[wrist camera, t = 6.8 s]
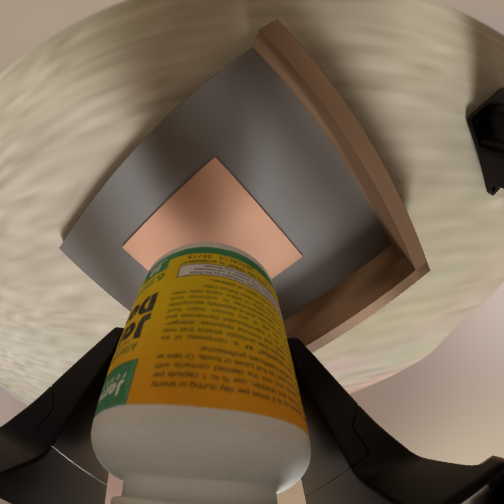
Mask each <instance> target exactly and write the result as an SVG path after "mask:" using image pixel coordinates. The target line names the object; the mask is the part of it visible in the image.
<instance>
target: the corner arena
mask: <svg viewBox="0 0 504 504" xmlns="http://www.w3.org/2000/svg"><path fill="white" fill-rule="evenodd" d="M197 242H215V243H222V244H226V245H229V246H233V247H235V248H238V249H240V250H242V251H244V252H246V253H247V254H249V255H251V256H252V257H253V258H255V259H256V260H257V261H258V262H259V263H260V264H261V265H262V266H263V267H264V268H265V270H266V271H267V273H268V274H269V276H270V278H271V280H272V282H273V284H274V287H275V290H276V294H277V298H278V301H279V306H280V311H281V314H282V318H283V323H284V328H285V332H286V336H287V338H288V337H297V338H299V339H300V340H301V341H302V343H303V344H304V345H305V346H306V347H307V348H308V349H309V350H310V352H311V353H313V352H314V351H316V350H318V349H319V348H321V347H323V346H324V345H326V344H328V343H329V342H331V341H332V340H334V339H336V338H337V337H339V336H340V335H342V334H344V333H345V332H347V331H348V330H350V329H351V328H353V327H354V326H356V325H357V324H359V323H360V322H362V321H363V320H365V319H366V318H368V317H369V316H371V315H372V314H374V313H375V312H376V311H378V310H379V309H381V308H382V307H383V306H385V305H386V304H388V303H389V302H390V301H392V300H393V299H394V298H396V297H397V296H398V295H400V294H401V293H402V292H404V291H405V290H406V289H408V288H409V287H410V286H411V285H413V284H414V283H415V282H416V281H418V280H419V279H420V278H421V277H423V276H424V275H425V274H426V273H428V272H429V271H430V269H429V266H428V263H427V260H426V258H425V255H424V252H423V249H422V247H421V244H420V242H419V239H418V237H417V234H416V232H415V229H414V227H413V224H412V222H411V220H410V217H409V215H408V213H407V211H406V208H405V206H404V204H403V202H402V200H401V198H400V196H399V194H398V191H397V189H396V187H395V185H394V183H393V181H392V179H391V177H390V176H389V174H388V172H387V170H386V168H385V166H384V164H383V162H382V161H381V159H380V157H379V155H378V153H377V152H376V150H375V148H374V147H373V145H372V143H371V141H370V140H369V138H368V136H367V135H366V133H365V131H364V130H363V128H362V127H361V125H360V124H359V122H358V120H357V119H356V117H355V116H354V114H353V113H352V111H351V110H350V108H349V107H348V105H347V104H346V102H345V101H344V100H343V98H342V97H341V95H340V94H339V93H338V91H337V90H336V88H335V87H334V86H333V84H332V83H331V82H330V80H329V79H328V78H327V76H326V75H325V74H324V73H323V71H322V70H321V69H320V67H319V66H318V65H317V64H316V62H315V61H314V60H313V59H312V58H311V56H310V55H309V54H308V53H307V52H306V51H305V49H304V48H303V47H302V46H301V45H300V44H299V43H298V41H297V40H296V39H295V38H294V37H293V36H292V35H291V34H290V33H289V32H288V30H287V29H286V28H285V27H284V26H283V25H282V24H281V23H280V22H279V21H278V20H277V19H276V20H275V21H273V22H271V23H270V24H268V25H266V26H265V27H263V28H261V29H260V30H259V32H258V35H257V37H256V40H255V43H254V46H253V48H251V49H250V50H248V51H247V52H246V53H244V54H243V55H241V56H240V57H238V58H237V59H236V60H234V61H233V62H232V63H230V64H229V65H228V66H226V67H225V68H224V69H222V70H221V71H220V72H218V73H217V74H216V75H214V76H213V77H212V78H211V79H209V80H208V81H207V82H206V83H205V84H203V85H202V86H201V87H200V88H198V89H197V90H196V91H195V92H194V93H193V94H191V95H190V96H189V97H188V98H187V99H186V100H185V101H183V102H182V103H181V104H180V105H179V106H178V107H177V108H176V109H175V110H174V111H172V112H171V113H170V114H169V115H168V116H167V117H166V118H165V119H164V120H163V121H162V122H161V123H160V124H159V125H158V126H157V127H156V128H155V129H154V130H153V131H152V132H151V133H150V134H149V135H148V136H147V137H146V138H145V139H144V140H143V141H142V142H141V143H140V144H139V145H138V146H137V148H136V149H135V150H134V151H133V152H132V153H131V154H130V155H129V156H128V157H127V159H126V160H125V161H124V162H123V163H122V164H121V165H120V167H119V168H118V169H117V170H116V171H115V172H114V174H113V175H112V176H111V177H110V178H109V180H108V181H107V182H106V183H105V185H104V186H103V187H102V188H101V190H100V191H99V192H98V193H97V195H96V196H95V197H94V199H93V200H92V201H91V203H90V204H89V205H88V207H87V208H86V209H85V211H84V212H83V214H82V215H81V216H80V218H79V219H78V221H77V222H76V224H75V225H74V226H73V228H72V229H71V231H70V232H69V234H68V235H67V237H66V238H65V240H64V242H63V243H62V245H61V246H60V248H59V249H60V250H62V251H63V252H64V253H65V254H66V255H67V256H68V257H69V258H70V259H71V260H72V261H73V262H74V263H75V264H76V265H77V266H78V267H79V268H80V269H81V270H82V271H84V272H85V273H86V274H87V275H88V276H89V277H90V278H91V279H92V280H93V281H95V282H96V283H97V284H98V285H99V286H100V287H101V288H103V289H104V290H105V291H106V292H107V293H109V294H110V295H111V296H112V297H113V298H115V299H116V300H117V301H118V302H119V303H121V304H122V305H123V306H124V307H126V308H127V309H128V310H129V311H131V310H132V307H133V305H134V303H135V300H136V298H137V295H138V293H139V291H140V289H141V286H142V284H143V282H144V280H145V277H146V275H147V273H148V271H149V270H150V268H151V267H152V265H153V264H154V263H155V262H156V261H157V260H158V259H159V258H160V257H162V256H163V255H165V254H166V253H168V252H170V251H171V250H173V249H175V248H178V247H181V246H184V245H187V244H191V243H197Z"/></svg>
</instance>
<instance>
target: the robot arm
mask: <svg viewBox="0 0 504 504" xmlns="http://www.w3.org/2000/svg"><path fill="white" fill-rule="evenodd" d="M468 125H469V128H470V131H471V134H472V137H473V140H474V143H475V146H476V150H477V153H478V156H479V160H480V164H481V167H482V171H483V175H484V180H485V184H486V189H487V192H488V193H489V194H491V195H494V194H495V193H496V192H497V191H498V190H499V189H500V188H503V189H504V87H502V88H501V89H500V90H498V91H497V92H496V93H495V94H494V95H493V96H492V97H490V98H489V99H488V100H487V101H486V102H485V103H483V104H482V105H481V106H480V107H479V108H478V109H476V110H475V111H474V112H473V113H472V114H471V115H469V117H468ZM123 331H124V328H119V327H116V328H114V329H113V330H112V331H111V332H110V333H108V334H107V335H106V336H105V337H104V338H103V339H102V340H101V341H99V342H98V343H97V344H96V345H95V346H94V347H93V348H92V349H91V350H89V351H88V352H87V353H86V354H85V355H84V356H83V357H82V358H81V359H79V360H78V361H77V362H76V363H75V364H74V365H73V366H72V367H71V368H70V369H69V370H68V371H66V372H65V373H64V374H63V375H62V376H61V377H60V378H59V379H58V380H57V381H56V382H55V383H54V384H53V385H52V387H49V388H48V389H47V390H46V391H45V392H44V393H43V394H42V395H41V396H40V397H38V398H37V399H36V400H35V401H34V402H33V403H31V404H30V405H29V406H28V407H27V408H25V409H24V410H23V411H22V412H20V413H19V414H18V415H16V416H15V417H14V418H12V419H11V420H10V421H9V422H7V423H6V424H4V425H3V426H1V427H0V504H105V496H106V489H107V481H108V474H109V472H108V471H107V470H106V469H105V468H104V467H103V466H102V464H101V463H100V462H99V460H98V459H97V457H96V455H95V453H94V450H93V447H92V443H91V429H92V424H93V419H94V416H95V412H96V409H97V406H98V402H99V398H100V395H101V392H102V388H103V385H104V383H105V380H106V376H107V373H108V370H109V367H110V364H111V361H112V359H113V356H114V354H115V352H116V349H117V345H118V343H119V340H120V338H121V335H122V333H123ZM287 341H288V345H289V349H290V354H291V358H292V362H293V366H294V371H295V376H296V379H297V384H298V388H299V393H300V397H301V402H302V406H303V410H304V413H305V416H306V422H307V427H308V433H309V438H310V445H311V459H310V463H309V466H308V468H307V470H306V472H305V473H304V475H303V476H302V477H301V480H302V484H303V489H304V494H305V496H306V497H305V499H306V504H504V459H503V458H501V457H497V456H491V457H490V458H488V459H487V460H485V461H483V462H482V463H481V464H479V465H473V466H472V465H460V464H453V463H447V462H442V461H436V460H431V459H426V458H422V457H420V456H418V455H416V454H414V453H412V452H411V451H409V450H408V449H407V448H405V447H404V446H403V445H402V444H400V443H399V442H398V441H397V440H395V439H394V438H393V437H392V436H391V435H389V434H388V433H387V432H386V431H385V430H384V429H383V428H381V427H380V426H379V425H378V424H377V423H376V422H375V421H374V420H373V419H372V418H371V417H370V416H369V415H368V414H367V413H366V412H365V411H364V410H363V409H362V408H361V407H360V406H358V404H357V402H356V401H355V400H354V399H353V398H352V397H351V396H350V395H349V394H348V393H347V392H346V390H345V389H344V388H343V387H342V386H341V385H340V384H339V383H338V382H337V381H336V379H335V378H334V377H333V376H332V375H331V374H330V373H329V372H328V371H327V369H326V368H325V367H324V366H323V365H322V364H321V363H320V362H319V361H318V359H317V358H316V357H315V356H314V355H313V354H312V353H311V352H310V350H309V349H308V348H307V347H306V346H305V345H304V344H303V343H302V341H301V340H300V339H299V338H297V337H288V338H287Z"/></svg>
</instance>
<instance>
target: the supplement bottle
mask: <svg viewBox="0 0 504 504" xmlns="http://www.w3.org/2000/svg"><path fill="white" fill-rule="evenodd" d="M91 443H92V447H93V450H94V453H95V455H96V457H97V459H98V460H99V462H100V463H101V464H102V466H103V467H104V468H105V469H106V470H107V471H108V472H109V473H110V474H112V475H113V476H114V477H116V478H117V479H118V480H120V481H122V482H123V490H122V495H121V496H120V497H119V496H118V497H113V498H112V499H111V504H278V503H277V496H276V494H278V493H280V492H283V491H285V490H287V489H288V488H290V487H291V486H293V485H294V484H295V483H297V482H298V481H299V480H300V479H301V477H302V476H303V475H304V473H305V472H306V470H307V468H308V466H309V463H310V459H311V445H310V438H309V433H308V427H307V422H306V416H305V413H304V410H303V406H302V402H301V397H300V393H299V388H298V384H297V379H296V376H295V371H294V366H293V362H292V358H291V354H290V349H289V345H288V341H287V336H286V332H285V328H284V323H283V318H282V314H281V311H280V306H279V301H278V298H277V294H276V290H275V287H274V284H273V282H272V280H271V278H270V276H269V274H268V273H267V271H266V270H265V268H264V267H263V266H262V265H261V264H260V263H259V262H258V261H257V260H256V259H255V258H253V257H252V256H251V255H249V254H247V253H246V252H244V251H242V250H240V249H238V248H235V247H233V246H229V245H226V244H222V243H215V242H197V243H191V244H187V245H184V246H181V247H178V248H175V249H173V250H171V251H170V252H168V253H166V254H165V255H163V256H162V257H160V258H159V259H158V260H157V261H156V262H155V263H154V264H153V265H152V267H151V268H150V270H149V271H148V273H147V275H146V277H145V280H144V282H143V284H142V286H141V289H140V291H139V293H138V295H137V298H136V300H135V303H134V305H133V307H132V310H131V312H130V315H129V317H128V320H127V322H126V326H125V328H124V331H123V333H122V335H121V338H120V340H119V343H118V345H117V349H116V352H115V354H114V356H113V359H112V361H111V364H110V367H109V370H108V373H107V376H106V380H105V383H104V385H103V388H102V392H101V395H100V398H99V402H98V406H97V409H96V412H95V416H94V419H93V424H92V429H91Z"/></svg>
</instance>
